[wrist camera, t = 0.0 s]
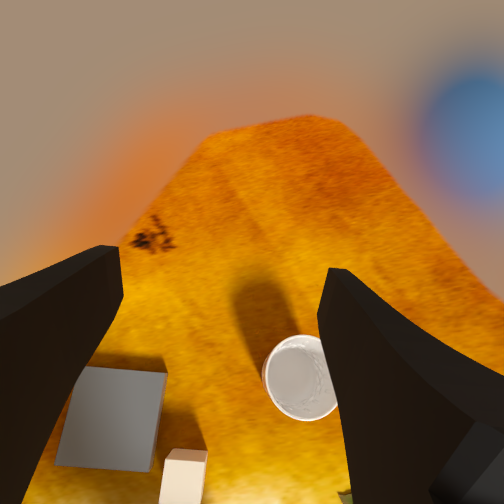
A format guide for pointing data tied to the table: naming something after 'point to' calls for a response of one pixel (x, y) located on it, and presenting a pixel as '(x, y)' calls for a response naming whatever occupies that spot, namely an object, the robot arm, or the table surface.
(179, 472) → the cream block
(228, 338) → the table surface
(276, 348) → the white cup
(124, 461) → the slate tile
